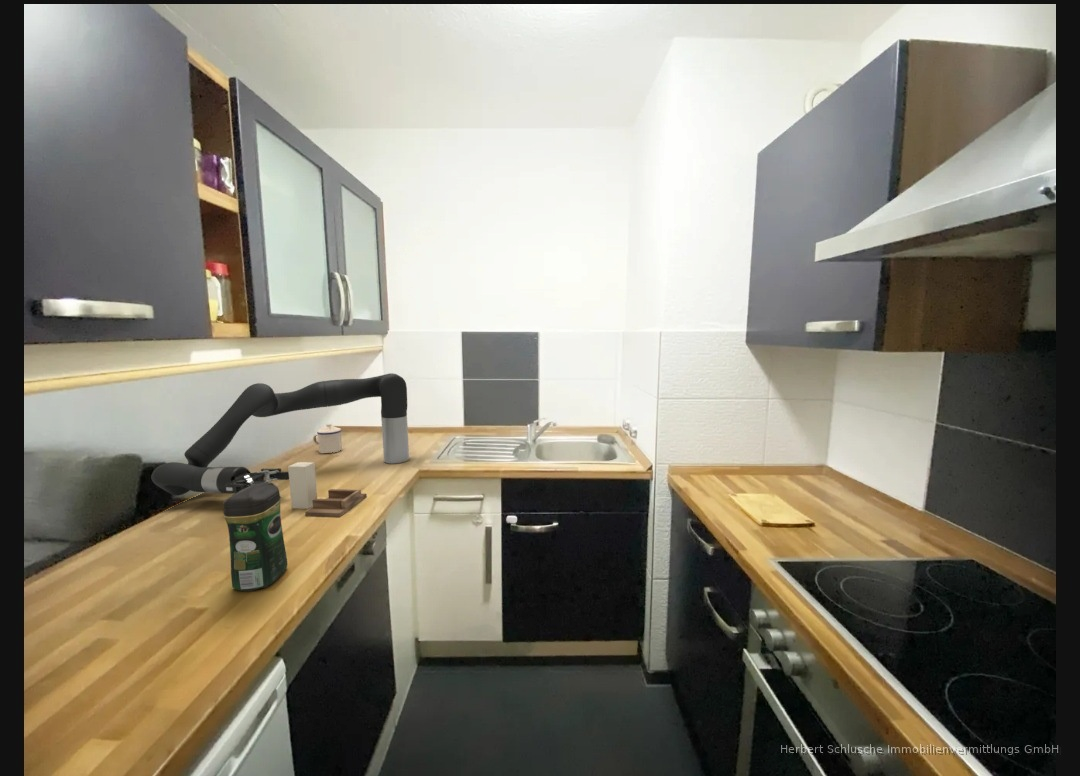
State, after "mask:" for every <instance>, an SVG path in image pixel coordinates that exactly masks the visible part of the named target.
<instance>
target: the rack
mask: <svg viewBox="0 0 1080 776" xmlns="http://www.w3.org/2000/svg"><path fill="white" fill-rule="evenodd" d="M327 492H328V497H327V498H317V499H314V500H312V502H313V506H312V507H311V508H309V509H307V510H306V511H304V513H305V517H306V516H307V517H327V518H329V517H331V518H341V516H343V515H344V514H346V513H347V512H349V511H350V510H351V509H352V508H354V507H355V506H356V505H359V503H361V502H362V501H363V500H365V499H366V498H367V497H368V496H367V494H368V493H362V490H361V489H347V488H346V489H344V488H343V489H341V488H337V489H335V488H330V489H328V491H327Z"/></svg>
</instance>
